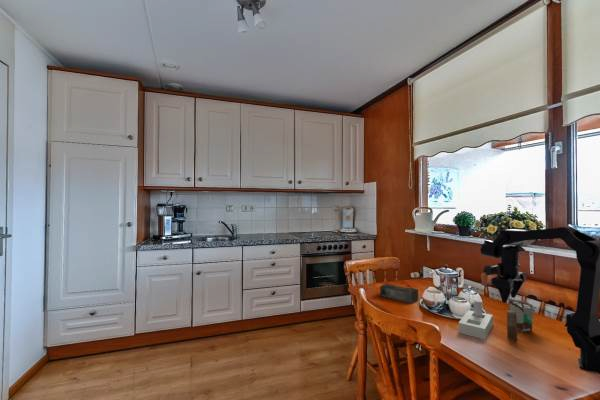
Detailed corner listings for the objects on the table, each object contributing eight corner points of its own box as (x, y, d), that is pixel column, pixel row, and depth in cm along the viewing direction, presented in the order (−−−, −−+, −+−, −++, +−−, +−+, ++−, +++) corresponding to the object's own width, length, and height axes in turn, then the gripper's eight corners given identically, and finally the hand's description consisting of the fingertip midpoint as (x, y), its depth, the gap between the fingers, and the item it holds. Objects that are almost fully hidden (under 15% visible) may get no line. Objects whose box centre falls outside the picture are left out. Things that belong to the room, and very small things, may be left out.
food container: (543, 335, 109) (542, 309, 109) (525, 334, 110) (524, 308, 111) (524, 322, 121) (524, 299, 122) (508, 321, 123) (508, 298, 123)
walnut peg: (516, 340, 105) (516, 314, 106) (506, 338, 107) (506, 312, 108) (517, 337, 108) (516, 311, 108) (507, 335, 110) (507, 309, 110)
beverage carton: (385, 293, 165) (385, 282, 165) (419, 300, 152) (419, 288, 152) (379, 296, 159) (379, 285, 159) (413, 304, 146) (413, 291, 146)
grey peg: (482, 327, 118) (481, 303, 118) (473, 325, 120) (473, 301, 120) (483, 324, 120) (482, 301, 120) (475, 322, 122) (474, 299, 122)
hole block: (485, 339, 107) (485, 328, 107) (458, 332, 113) (458, 322, 113) (492, 324, 120) (492, 315, 120) (468, 318, 126) (468, 310, 126)
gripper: (495, 254, 123) (495, 289, 124) (476, 260, 113) (476, 298, 113) (527, 259, 114) (526, 297, 115) (509, 266, 103) (509, 307, 104)
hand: (508, 299), depth 112 cm, fingers open, 9 cm apart
